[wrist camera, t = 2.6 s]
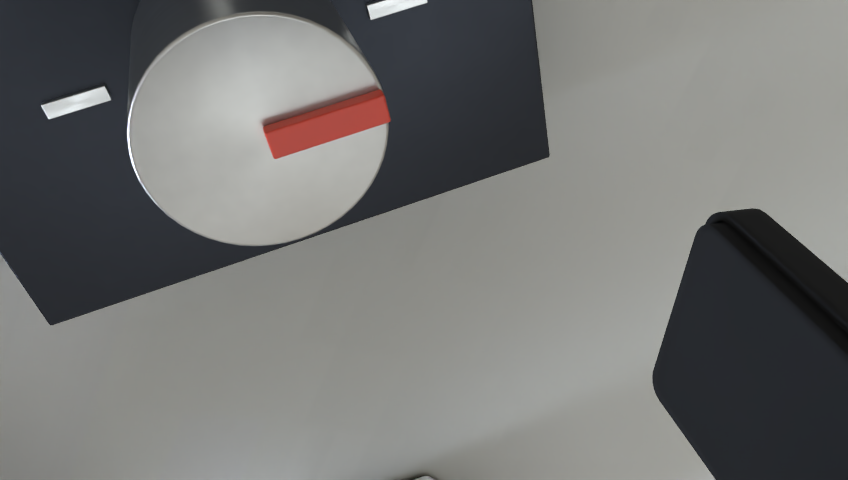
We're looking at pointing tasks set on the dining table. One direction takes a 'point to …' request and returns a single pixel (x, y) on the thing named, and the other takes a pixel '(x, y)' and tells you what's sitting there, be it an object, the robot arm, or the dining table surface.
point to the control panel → (158, 233)
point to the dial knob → (252, 116)
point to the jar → (424, 478)
